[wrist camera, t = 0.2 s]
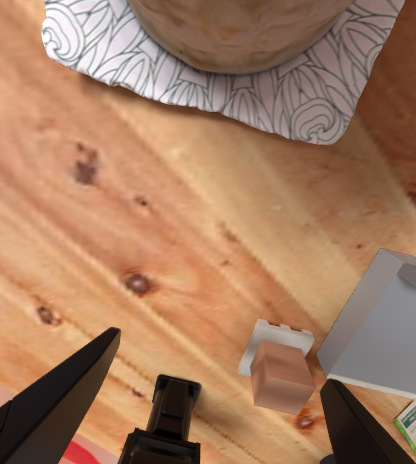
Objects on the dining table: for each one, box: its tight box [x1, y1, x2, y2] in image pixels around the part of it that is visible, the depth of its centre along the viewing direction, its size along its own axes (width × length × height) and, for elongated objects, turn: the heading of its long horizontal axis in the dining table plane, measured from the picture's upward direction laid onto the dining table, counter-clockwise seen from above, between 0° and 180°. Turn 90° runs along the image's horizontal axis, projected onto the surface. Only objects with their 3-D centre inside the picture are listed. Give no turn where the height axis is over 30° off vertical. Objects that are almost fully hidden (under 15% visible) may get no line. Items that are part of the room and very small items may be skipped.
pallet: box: [238, 319, 316, 415], centre depth 25 cm, size 9×7×6 cm
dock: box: [316, 248, 416, 400], centre depth 22 cm, size 16×13×5 cm
